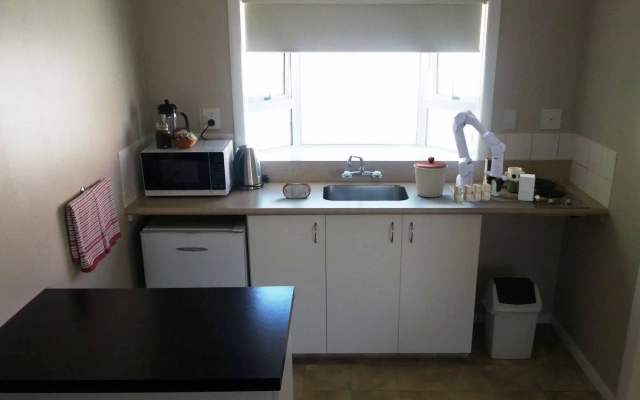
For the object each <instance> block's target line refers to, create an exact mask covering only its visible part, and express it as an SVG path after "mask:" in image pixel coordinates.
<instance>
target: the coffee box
mask: <svg viewBox="0 0 640 400" xmlns="http://www.w3.org/2000/svg"><path fill="white" fill-rule="evenodd" d="M484 160H485V163H484V171H483V172H484V174H483V183H487V184H489V183H488V180H487V178H486V177H488V176H489V175H486V171H490V172H491V165H492V157H485V159H484ZM504 164H505V159H504V158H503V167H504V166H505V165H504ZM502 174H503V175H504V169H503V170H502ZM496 179H498V178H496ZM483 183H482V184H483Z"/></svg>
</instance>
